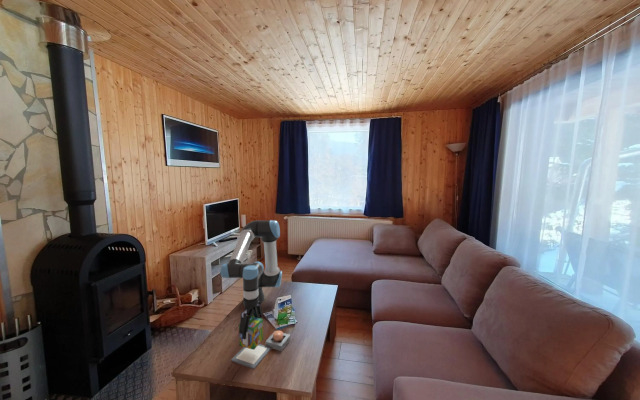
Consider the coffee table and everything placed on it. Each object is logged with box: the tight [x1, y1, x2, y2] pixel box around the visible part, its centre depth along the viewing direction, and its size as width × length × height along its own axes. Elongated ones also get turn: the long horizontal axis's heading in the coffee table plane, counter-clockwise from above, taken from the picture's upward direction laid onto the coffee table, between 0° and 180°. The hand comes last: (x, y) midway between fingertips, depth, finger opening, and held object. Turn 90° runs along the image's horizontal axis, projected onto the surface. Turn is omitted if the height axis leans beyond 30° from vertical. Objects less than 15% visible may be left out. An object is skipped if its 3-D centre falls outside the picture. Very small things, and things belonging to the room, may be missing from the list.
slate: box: [230, 343, 272, 370], centre depth 127 cm, size 15×14×1 cm
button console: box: [265, 332, 291, 352], centre depth 136 cm, size 10×10×3 cm
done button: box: [272, 330, 284, 342], centre depth 136 cm, size 6×6×2 cm
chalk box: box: [238, 314, 264, 350], centre depth 126 cm, size 9×9×15 cm
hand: (251, 338), depth 126 cm, fingers closed on chalk box, 9 cm apart
